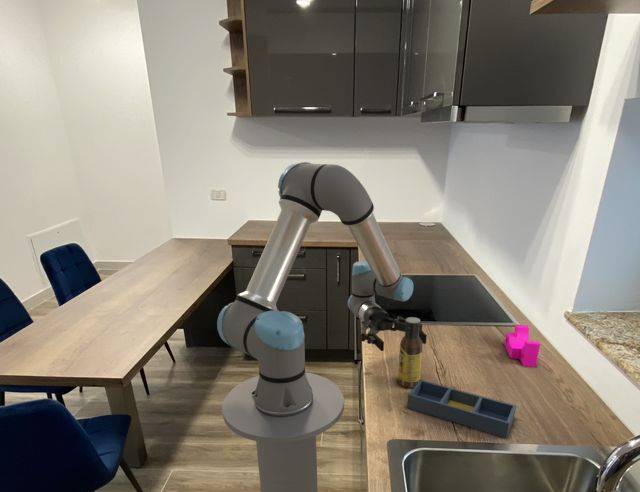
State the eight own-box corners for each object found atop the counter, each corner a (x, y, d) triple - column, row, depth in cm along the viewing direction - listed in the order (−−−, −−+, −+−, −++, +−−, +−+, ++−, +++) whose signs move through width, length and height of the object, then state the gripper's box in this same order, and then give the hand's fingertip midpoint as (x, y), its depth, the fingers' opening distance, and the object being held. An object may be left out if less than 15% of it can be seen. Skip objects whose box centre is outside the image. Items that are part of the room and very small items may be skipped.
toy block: (504, 344, 151) (507, 324, 148) (523, 345, 150) (527, 325, 147) (514, 365, 137) (518, 343, 134) (535, 366, 136) (540, 344, 133)
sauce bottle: (399, 376, 131) (403, 313, 123) (420, 379, 129) (426, 315, 121) (396, 387, 125) (400, 322, 117) (418, 390, 123) (423, 324, 115)
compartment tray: (407, 407, 116) (408, 394, 114) (419, 392, 123) (420, 379, 121) (506, 438, 104) (509, 423, 102) (513, 419, 111) (516, 405, 109)
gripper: (407, 322, 150) (441, 348, 132) (338, 332, 142) (363, 361, 124) (408, 301, 147) (443, 325, 129) (338, 310, 139) (364, 337, 121)
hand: (404, 343), depth 126 cm, fingers open, 13 cm apart
